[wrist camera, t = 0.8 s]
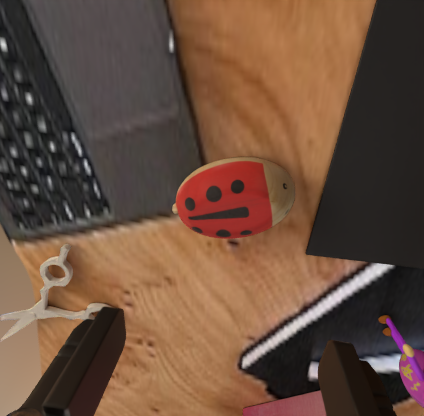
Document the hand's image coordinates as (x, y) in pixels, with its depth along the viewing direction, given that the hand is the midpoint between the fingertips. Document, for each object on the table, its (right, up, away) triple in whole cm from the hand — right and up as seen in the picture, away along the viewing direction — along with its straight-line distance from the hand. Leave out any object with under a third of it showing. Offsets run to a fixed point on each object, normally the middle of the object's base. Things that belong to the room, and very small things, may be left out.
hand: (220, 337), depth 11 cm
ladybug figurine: (+1, +6, +12) cm, 14 cm away
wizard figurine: (+18, -6, +17) cm, 25 cm away
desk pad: (+15, +9, +9) cm, 19 cm away
